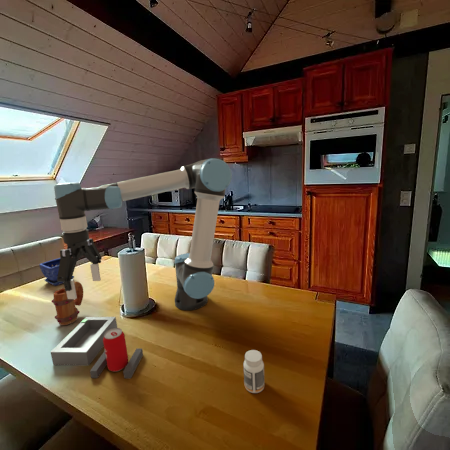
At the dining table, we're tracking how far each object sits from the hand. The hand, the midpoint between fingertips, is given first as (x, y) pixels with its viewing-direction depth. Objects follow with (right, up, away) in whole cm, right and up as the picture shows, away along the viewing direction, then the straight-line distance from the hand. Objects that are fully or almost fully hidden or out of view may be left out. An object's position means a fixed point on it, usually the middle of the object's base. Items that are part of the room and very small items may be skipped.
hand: (85, 289), depth 91 cm
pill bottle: (+57, -23, -18) cm, 64 cm away
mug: (-16, -18, +21) cm, 32 cm away
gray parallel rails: (+15, -23, -8) cm, 28 cm away
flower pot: (-47, -11, +60) cm, 77 cm away
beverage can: (+15, -23, -8) cm, 28 cm away
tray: (-1, -21, +3) cm, 21 cm away
